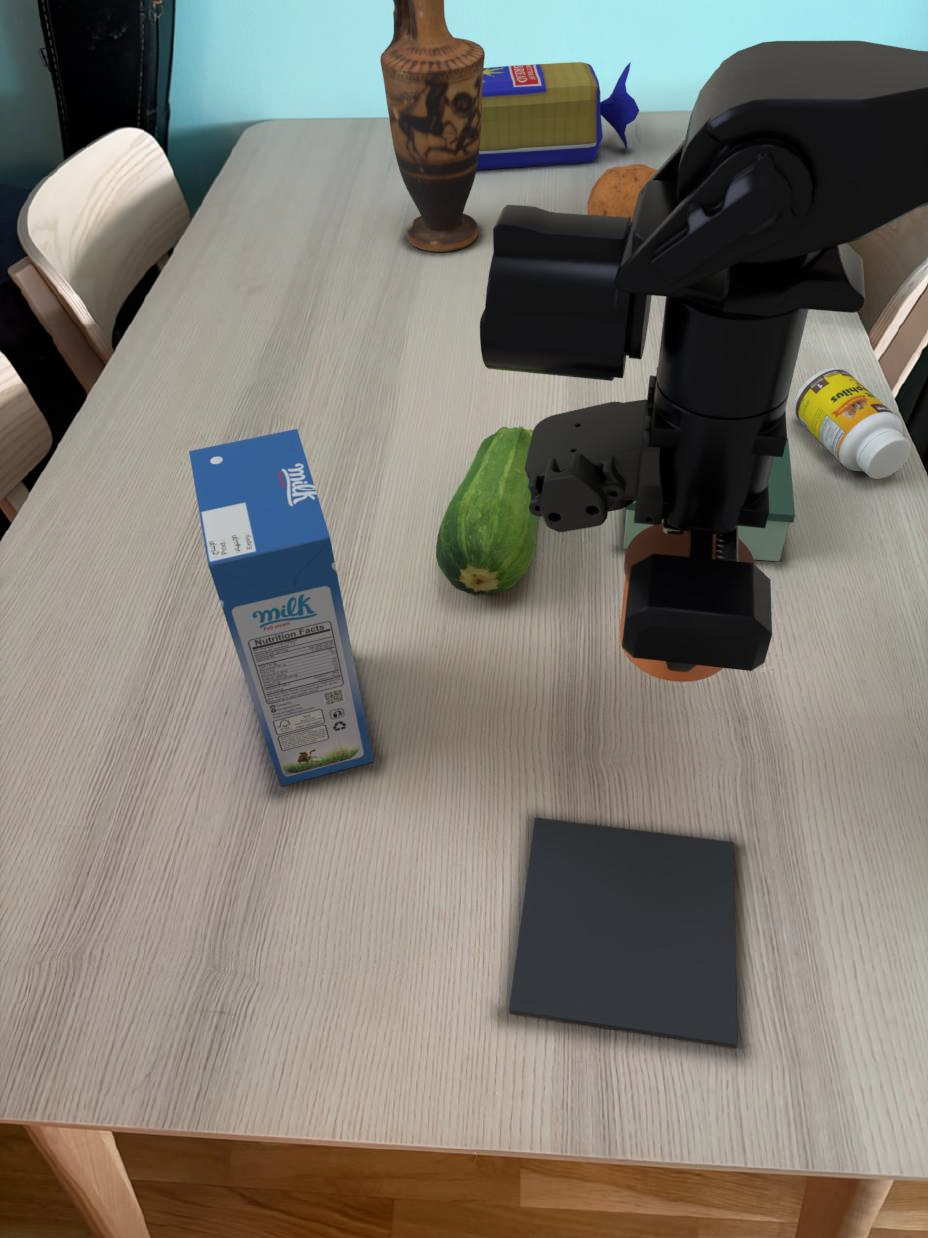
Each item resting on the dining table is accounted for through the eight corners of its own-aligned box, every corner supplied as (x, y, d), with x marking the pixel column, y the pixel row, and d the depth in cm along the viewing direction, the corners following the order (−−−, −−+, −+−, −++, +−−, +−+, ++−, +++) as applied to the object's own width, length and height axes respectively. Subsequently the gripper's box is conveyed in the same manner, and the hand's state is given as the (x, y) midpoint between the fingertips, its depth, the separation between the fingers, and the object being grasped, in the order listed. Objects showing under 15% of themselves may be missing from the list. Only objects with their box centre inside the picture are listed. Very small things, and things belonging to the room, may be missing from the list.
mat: (732, 846, 59) (733, 841, 58) (736, 1048, 51) (737, 1045, 50) (535, 821, 61) (535, 817, 60) (508, 1013, 53) (508, 1010, 52)
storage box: (776, 486, 81) (788, 437, 78) (782, 563, 75) (795, 514, 71) (627, 475, 83) (631, 427, 80) (620, 550, 77) (625, 502, 73)
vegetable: (446, 525, 67) (507, 369, 80) (408, 585, 72) (471, 429, 86) (539, 573, 68) (583, 411, 81) (495, 629, 73) (544, 468, 87)
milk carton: (373, 762, 64) (330, 537, 49) (280, 787, 63) (207, 565, 48) (343, 654, 71) (296, 427, 56) (258, 675, 70) (188, 449, 55)
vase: (507, 239, 114) (504, -69, 92) (429, 267, 110) (406, -47, 88) (455, 207, 120) (440, -88, 98) (380, 233, 116) (347, -68, 94)
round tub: (737, 602, 57) (755, 525, 52) (737, 691, 52) (757, 615, 48) (621, 590, 58) (629, 513, 53) (611, 677, 53) (619, 601, 49)
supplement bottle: (856, 360, 84) (931, 426, 78) (835, 415, 88) (905, 482, 81) (801, 368, 83) (873, 436, 76) (782, 423, 87) (849, 492, 80)
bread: (441, 145, 133) (436, 62, 126) (622, 133, 133) (628, 49, 126) (444, 176, 126) (439, 91, 119) (635, 163, 126) (642, 77, 119)
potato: (585, 217, 117) (588, 152, 111) (680, 216, 116) (688, 151, 110) (586, 253, 110) (589, 187, 105) (686, 253, 109) (695, 186, 104)
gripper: (564, 268, 50) (556, 501, 61) (507, 502, 38) (510, 740, 49) (788, 279, 48) (737, 517, 60) (805, 529, 36) (737, 769, 47)
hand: (680, 623), depth 54 cm, fingers closed on round tub, 6 cm apart
